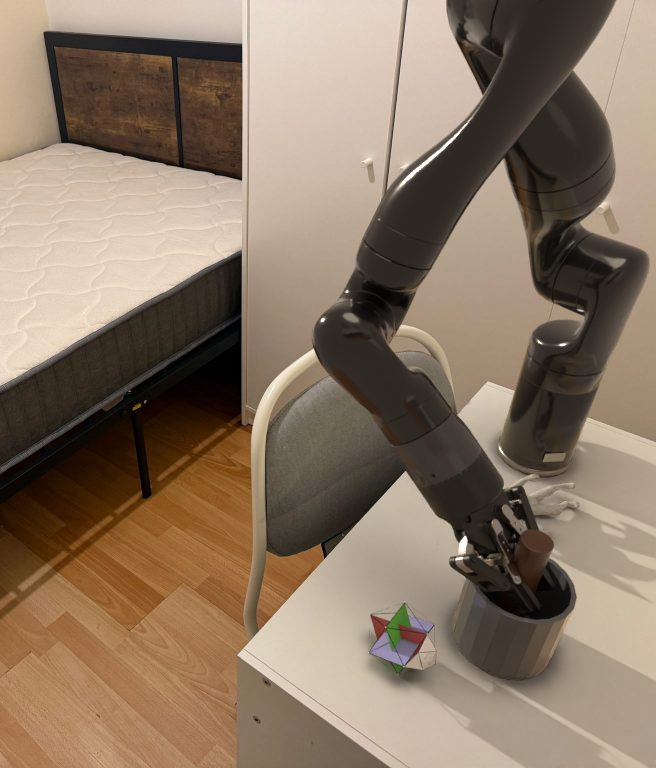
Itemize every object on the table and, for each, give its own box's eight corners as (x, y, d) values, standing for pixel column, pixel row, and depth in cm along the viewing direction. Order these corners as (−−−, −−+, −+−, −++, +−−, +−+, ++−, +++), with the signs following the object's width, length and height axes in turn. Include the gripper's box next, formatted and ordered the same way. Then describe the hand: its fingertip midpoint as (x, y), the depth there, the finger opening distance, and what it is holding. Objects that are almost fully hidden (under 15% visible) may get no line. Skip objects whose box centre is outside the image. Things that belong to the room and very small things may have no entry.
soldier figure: (586, 529, 94) (525, 541, 88) (551, 530, 98) (490, 541, 93) (573, 469, 95) (512, 476, 90) (539, 473, 99) (479, 480, 94)
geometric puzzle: (340, 636, 80) (388, 627, 74) (372, 597, 84) (420, 585, 77) (382, 690, 80) (434, 685, 73) (413, 648, 83) (465, 640, 77)
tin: (465, 587, 87) (483, 531, 81) (557, 625, 82) (583, 568, 76) (441, 652, 80) (458, 595, 74) (539, 696, 76) (566, 640, 70)
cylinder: (493, 609, 82) (524, 524, 73) (522, 621, 80) (556, 536, 72) (486, 629, 80) (517, 545, 71) (516, 642, 78) (550, 557, 70)
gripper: (444, 495, 68) (548, 646, 68) (505, 418, 75) (597, 554, 76) (384, 508, 74) (479, 647, 74) (446, 435, 82) (532, 561, 82)
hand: (538, 599), depth 75 cm, fingers closed on cylinder, 3 cm apart
